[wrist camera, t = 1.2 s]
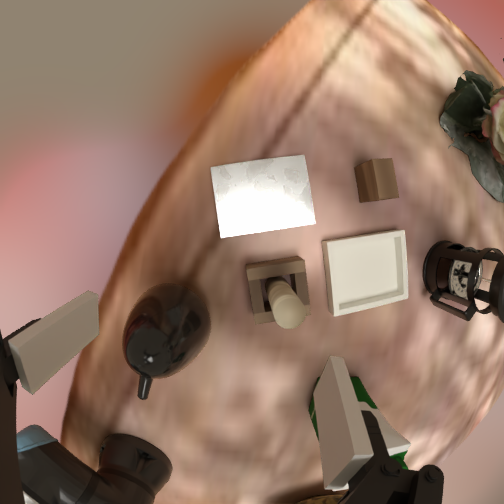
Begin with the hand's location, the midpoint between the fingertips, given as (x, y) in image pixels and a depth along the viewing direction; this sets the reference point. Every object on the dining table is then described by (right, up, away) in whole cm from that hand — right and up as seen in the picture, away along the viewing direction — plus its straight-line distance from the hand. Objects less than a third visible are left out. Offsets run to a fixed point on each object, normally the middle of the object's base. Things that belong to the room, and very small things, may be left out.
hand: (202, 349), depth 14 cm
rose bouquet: (+50, +28, +22) cm, 61 cm away
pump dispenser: (-8, -4, +24) cm, 25 cm away
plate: (+4, +12, +23) cm, 26 cm away
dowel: (+6, 0, +23) cm, 24 cm away
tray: (+19, +3, +24) cm, 30 cm away
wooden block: (+19, +15, +22) cm, 33 cm away
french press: (+34, +2, +24) cm, 42 cm away
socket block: (+6, 0, +23) cm, 24 cm away
